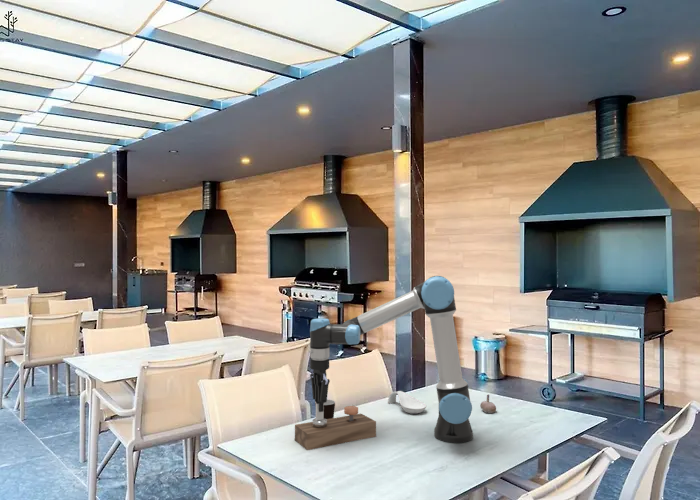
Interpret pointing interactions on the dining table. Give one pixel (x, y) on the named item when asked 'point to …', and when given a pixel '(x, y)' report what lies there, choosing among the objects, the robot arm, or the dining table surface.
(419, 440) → the dining table surface
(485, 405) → the garlic bulb
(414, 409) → the spoon rest
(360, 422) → the button block
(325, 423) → the grey plunger
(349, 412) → the terracotta plunger
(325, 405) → the coffee mug
